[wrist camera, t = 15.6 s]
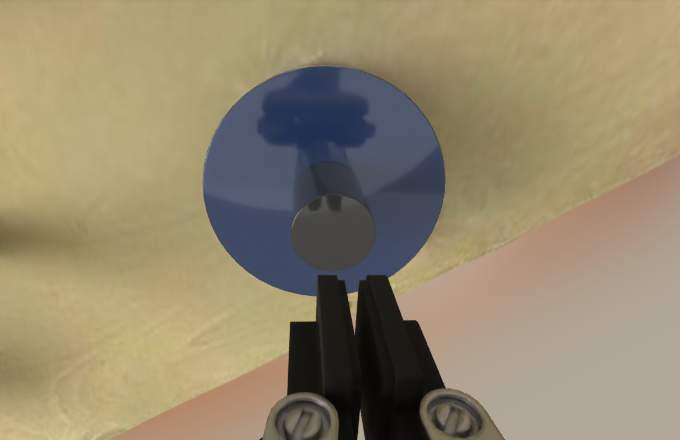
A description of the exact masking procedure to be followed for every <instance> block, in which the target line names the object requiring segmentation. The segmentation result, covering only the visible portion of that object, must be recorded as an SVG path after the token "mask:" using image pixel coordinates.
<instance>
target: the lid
mask: <svg viewBox="0 0 680 440" xmlns="http://www.w3.org/2000/svg"><path fill="white" fill-rule="evenodd" d="M444 192H445V167H444V160H443V155H442V151H441V147H440V144H439V142H438V139H437V136H436V134H435V132H434V130H433V128H432V126H431V125H430V123H429V121H428V119H427V118H426V116H425V115H424V114H423V112H422V111H421V110H420V109H419V107H418V106H417V105H416V104H415V103H414V102H413V101H412V100H411V99H410V98H409V97H408V96H407V95H406V94H405V93H403V92H402V91H400V90H399V89H398V88H396V87H395V86H394V85H392V84H390V83H389V82H387V81H385V80H383V79H381V78H379V77H377V76H375V75H372V74H370V73H367V72H364V71H362V70H358V69H353V68H349V67H344V66H333V65H318V66H307V67H302V68H297V69H292V70H289V71H286V72H284V73H281V74H278V75H275V76H273V77H271V78H269V79H268V80H266V81H264V82H262V83H260V84H258V85H257V86H256V87H254V88H253V89H252V90H250V91H249V92H247V93H246V94H245V95H244V96H243V97H242V98H241V99H240V100H239V101H238V102H237V103H236V104H235V105H234V106H233V107H232V108H231V109H230V110H229V112H228V113H227V114H226V115H225V117H224V118H223V119H222V121H221V123H220V124H219V126H218V128H217V130H216V131H215V133H214V135H213V138H212V140H211V143H210V145H209V148H208V151H207V155H206V159H205V164H204V172H203V194H204V201H205V206H206V211H207V214H208V217H209V220H210V223H211V225H212V228H213V229H214V231H215V233H216V235H217V237H218V239H219V241H220V242H221V244H222V245H223V246H224V248H225V249H226V251H227V252H228V253H229V254H230V255H231V256H232V258H233V259H234V260H235V261H236V262H237V263H238V264H239V265H240V266H242V267H243V268H244V269H245V270H246V271H247V272H249V273H250V274H252V275H253V276H255V277H256V278H258V279H259V280H261V281H263V282H265V283H267V284H269V285H271V286H273V287H276V288H279V289H282V290H284V291H288V292H292V293H296V294H301V295H309V296H317V278H318V275H337V278H338V280H345V285H346V291H347V294H348V293H353V292H357V291H358V289H359V281H360V280H366V276H367V275H387V277H388V278H389V277H390V276H392V275H394V274H395V273H396V272H398V271H399V270H400V269H402V268H403V267H404V266H405V265H406V264H407V263H408V262H409V261H410V260H411V259H413V258H414V257H415V255H416V254H417V253H418V252H419V251H420V249H421V248H422V247H423V246H424V244H425V243H426V241H427V239H428V238H429V236H430V235H431V233H432V231H433V229H434V227H435V224H436V222H437V220H438V217H439V214H440V211H441V208H442V204H443V198H444Z"/></svg>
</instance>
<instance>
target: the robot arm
mask: <svg viewBox="0 0 680 440" xmlns="http://www.w3.org/2000/svg"><path fill="white" fill-rule="evenodd" d="M360 410H361V416H362V423H363V429H364V435H365V440H505V439H504V437H503V436H502V434H501V433H500V432H499V430H498V428H497V427H496V425H495V424H494V422H493V421H492V419H491V418H490V416H489V414H488V413H487V411H486V410H485V409H484V408H483V406H482V405H481V404H480V403H479V402H478V401H477V400H475V399H474V398H473V397H471V396H470V395H468V394H466V393H464V392H461V391H459V390H454V389H450V388H448V389H446V388H445V386H444V383H443V381H442V378H441V376H440V373H439V371H438V369H437V366H436V364H435V362H434V359H433V357H432V354H431V352H430V349H429V347H428V345H427V342H426V340H425V338H424V335H423V333H422V330H421V328H420V326H419V324H418V322H417V321H416V320H404V321H403V318H402V316H401V313H400V310H399V307H398V305H397V302H396V299H395V296H394V294H393V291H392V288H391V285H390V283H389V280H388V277H387V275H367V276H366V280H360V281H359V289H358V301H357V314H356V328H355V335H354V329H353V324H352V318H351V313H350V307H349V302H348V296H347V291H346V285H345V280H338V278H337V275H318V278H317V306H316V322H290V340H289V365H288V391H287V396H286V397H284V398H283V399H281V400H279V401H278V402H277V403H276V404H275V405H274V406H273V408H272V409H271V411H270V413H269V416H268V418H267V422H266V427H265V431H264V435H263V437H262V438H261V439H260V440H357V436H358V425H359V415H360V414H359V413H360Z"/></svg>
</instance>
